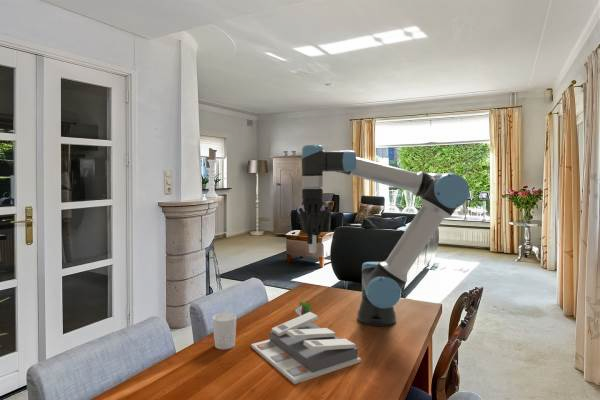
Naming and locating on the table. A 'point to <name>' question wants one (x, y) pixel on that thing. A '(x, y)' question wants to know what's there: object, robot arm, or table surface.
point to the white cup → (224, 330)
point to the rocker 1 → (294, 323)
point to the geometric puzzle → (303, 308)
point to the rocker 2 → (310, 333)
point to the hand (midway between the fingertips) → (312, 252)
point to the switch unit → (303, 356)
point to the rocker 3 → (328, 344)
